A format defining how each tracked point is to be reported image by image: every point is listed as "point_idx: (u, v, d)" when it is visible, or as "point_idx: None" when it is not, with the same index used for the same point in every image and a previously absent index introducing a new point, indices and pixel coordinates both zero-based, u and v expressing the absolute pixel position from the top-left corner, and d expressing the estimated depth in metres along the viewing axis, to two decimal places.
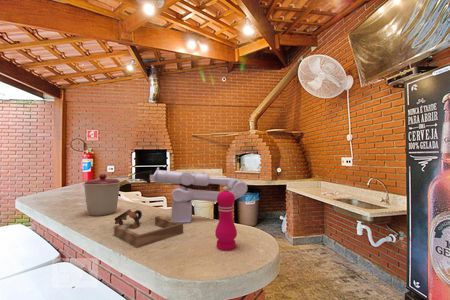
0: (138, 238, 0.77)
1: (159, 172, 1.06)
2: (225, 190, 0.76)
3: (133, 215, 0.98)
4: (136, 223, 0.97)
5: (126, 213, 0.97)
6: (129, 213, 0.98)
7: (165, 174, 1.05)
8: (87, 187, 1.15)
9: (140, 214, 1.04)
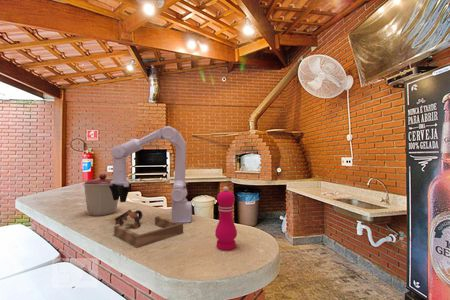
0: (138, 238, 0.77)
1: (117, 179, 1.05)
2: (225, 190, 0.76)
3: (134, 215, 0.97)
4: (137, 223, 0.97)
5: (126, 213, 0.96)
6: (130, 213, 0.97)
7: (119, 173, 1.05)
8: (87, 187, 1.15)
9: (140, 214, 1.03)
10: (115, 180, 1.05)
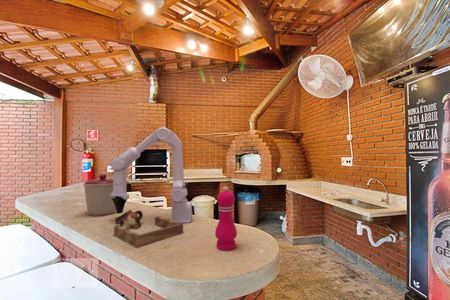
0: (138, 238, 0.77)
1: (117, 192, 1.04)
2: (225, 190, 0.76)
3: (134, 215, 0.97)
4: (137, 223, 0.97)
5: (127, 213, 0.96)
6: (130, 213, 0.97)
7: (119, 185, 1.05)
8: (87, 187, 1.15)
9: (141, 214, 1.03)
10: (115, 192, 1.05)
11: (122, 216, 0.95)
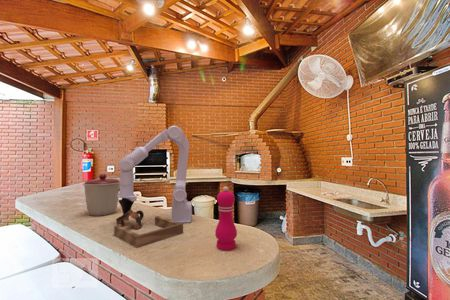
0: (138, 238, 0.77)
1: (124, 193, 1.00)
2: (225, 190, 0.76)
3: (135, 216, 0.96)
4: (138, 224, 0.96)
5: (128, 214, 0.95)
6: (131, 214, 0.96)
7: (126, 187, 1.00)
8: (87, 187, 1.15)
9: (142, 214, 1.02)
10: (122, 194, 1.00)
11: (123, 216, 0.94)
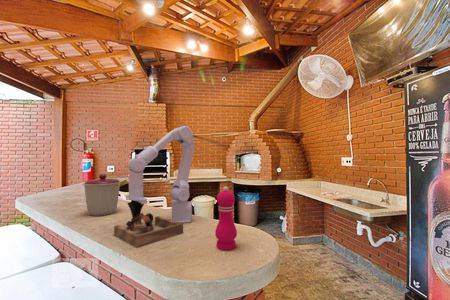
0: (138, 238, 0.77)
1: (133, 195, 0.94)
2: (225, 190, 0.76)
3: (147, 219, 0.91)
4: (151, 227, 0.91)
5: (140, 217, 0.90)
6: (143, 217, 0.91)
7: (136, 188, 0.94)
8: (87, 187, 1.15)
9: (152, 217, 0.97)
10: (131, 196, 0.94)
11: (135, 220, 0.88)
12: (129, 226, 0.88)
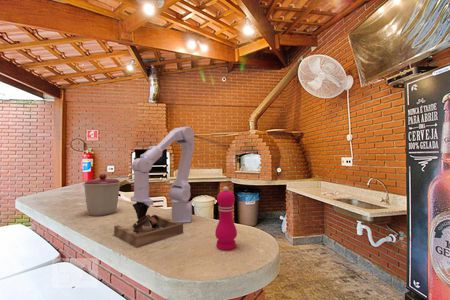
0: (138, 238, 0.77)
1: (139, 197, 0.91)
2: (225, 190, 0.76)
3: (155, 220, 0.89)
4: None
5: (148, 219, 0.87)
6: (151, 218, 0.88)
7: (141, 189, 0.91)
8: (87, 187, 1.15)
9: (157, 219, 0.95)
10: (137, 197, 0.91)
11: (144, 222, 0.86)
12: (137, 228, 0.85)
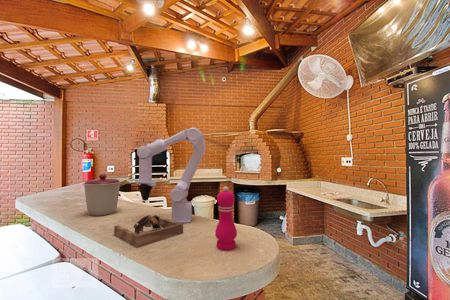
0: (138, 238, 0.77)
1: (144, 179, 1.06)
2: (225, 190, 0.76)
3: (156, 221, 0.89)
4: None
5: (149, 219, 0.87)
6: (152, 219, 0.88)
7: (145, 173, 1.07)
8: (87, 187, 1.15)
9: (158, 219, 0.95)
10: (142, 180, 1.06)
11: (145, 222, 0.85)
12: (138, 229, 0.85)
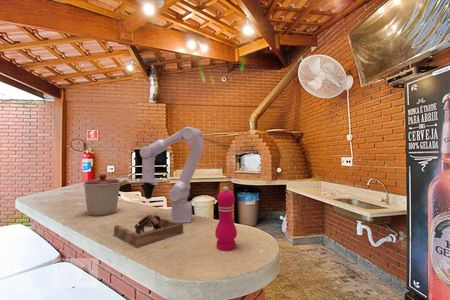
0: (138, 238, 0.77)
1: (146, 178, 1.10)
2: (225, 190, 0.76)
3: (157, 221, 0.89)
4: None
5: (150, 219, 0.87)
6: (153, 219, 0.88)
7: (148, 172, 1.11)
8: (87, 187, 1.15)
9: (159, 220, 0.94)
10: (145, 179, 1.10)
11: (146, 223, 0.85)
12: (139, 229, 0.85)
